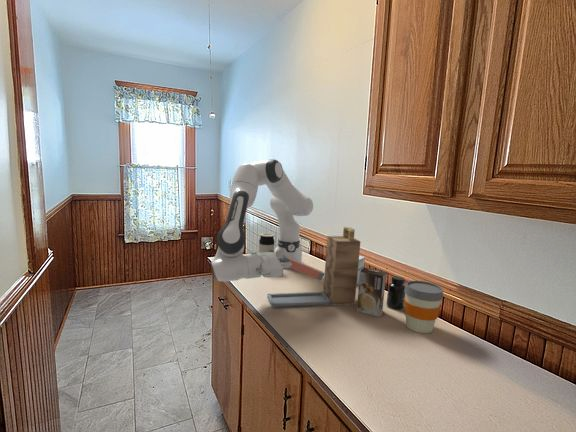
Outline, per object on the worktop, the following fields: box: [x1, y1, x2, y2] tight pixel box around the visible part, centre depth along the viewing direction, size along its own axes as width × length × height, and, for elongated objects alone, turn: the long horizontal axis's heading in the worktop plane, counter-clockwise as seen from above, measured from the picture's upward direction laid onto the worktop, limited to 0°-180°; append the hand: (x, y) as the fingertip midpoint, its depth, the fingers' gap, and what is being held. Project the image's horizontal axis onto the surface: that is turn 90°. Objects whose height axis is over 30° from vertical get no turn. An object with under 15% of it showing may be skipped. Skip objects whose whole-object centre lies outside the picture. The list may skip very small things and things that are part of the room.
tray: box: [266, 291, 332, 309], centre depth 132 cm, size 10×24×2 cm, turn 104°
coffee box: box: [356, 267, 387, 318], centre depth 125 cm, size 9×6×16 cm
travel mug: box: [258, 232, 275, 253], centre depth 171 cm, size 8×8×18 cm
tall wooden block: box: [322, 226, 361, 306], centre depth 134 cm, size 10×10×30 cm
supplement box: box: [356, 255, 366, 286], centre depth 158 cm, size 7×7×13 cm
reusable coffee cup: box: [403, 280, 444, 334], centre depth 115 cm, size 13×12×15 cm
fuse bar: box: [280, 255, 325, 281], centre depth 129 cm, size 3×18×3 cm, turn 102°
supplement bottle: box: [386, 275, 406, 310], centre depth 132 cm, size 7×7×12 cm
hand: (290, 261), depth 128 cm, fingers closed on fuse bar, 3 cm apart
